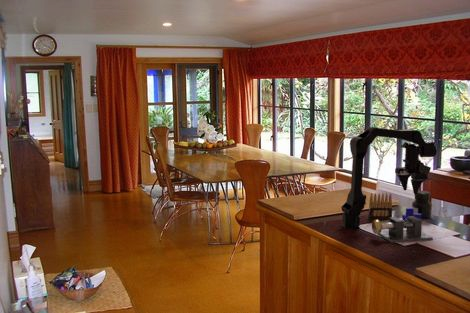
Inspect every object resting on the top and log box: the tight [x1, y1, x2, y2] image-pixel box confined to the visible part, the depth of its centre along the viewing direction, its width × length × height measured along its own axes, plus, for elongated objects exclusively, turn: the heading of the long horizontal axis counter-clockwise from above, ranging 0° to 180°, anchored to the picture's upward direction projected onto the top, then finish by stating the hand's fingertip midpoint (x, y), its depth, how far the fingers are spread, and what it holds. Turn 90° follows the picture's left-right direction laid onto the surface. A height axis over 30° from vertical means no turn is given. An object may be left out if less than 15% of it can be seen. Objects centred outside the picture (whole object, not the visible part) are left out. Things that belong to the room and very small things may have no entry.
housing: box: [378, 216, 434, 243], centre depth 209 cm, size 18×12×8 cm, turn 101°
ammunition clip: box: [367, 192, 393, 220], centre depth 238 cm, size 11×2×12 cm, turn 89°
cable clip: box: [401, 207, 422, 222], centre depth 229 cm, size 12×4×6 cm, turn 179°
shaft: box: [371, 219, 413, 235], centre depth 208 cm, size 16×6×6 cm, turn 101°
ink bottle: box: [411, 190, 433, 220], centre depth 240 cm, size 10×9×12 cm
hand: (410, 192), depth 227 cm, fingers open, 9 cm apart
